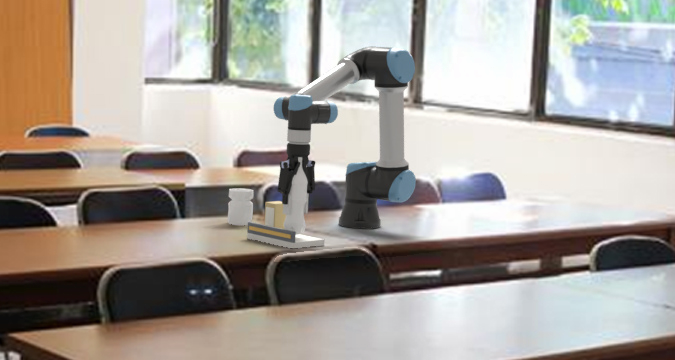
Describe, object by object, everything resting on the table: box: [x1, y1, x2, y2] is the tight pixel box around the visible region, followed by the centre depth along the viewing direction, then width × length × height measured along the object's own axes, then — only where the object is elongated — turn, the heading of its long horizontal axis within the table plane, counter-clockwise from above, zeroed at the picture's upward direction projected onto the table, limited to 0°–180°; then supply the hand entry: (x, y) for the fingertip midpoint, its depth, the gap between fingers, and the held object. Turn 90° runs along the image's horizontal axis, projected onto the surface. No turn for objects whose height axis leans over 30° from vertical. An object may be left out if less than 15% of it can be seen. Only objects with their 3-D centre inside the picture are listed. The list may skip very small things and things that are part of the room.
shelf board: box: [246, 221, 325, 249], centre depth 420 cm, size 14×22×6 cm, turn 45°
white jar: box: [227, 187, 255, 227], centre depth 454 cm, size 9×9×12 cm
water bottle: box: [284, 157, 308, 235], centre depth 416 cm, size 7×7×25 cm
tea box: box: [263, 200, 286, 229], centre depth 426 cm, size 6×5×10 cm
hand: (295, 213), depth 416 cm, fingers closed on water bottle, 7 cm apart
